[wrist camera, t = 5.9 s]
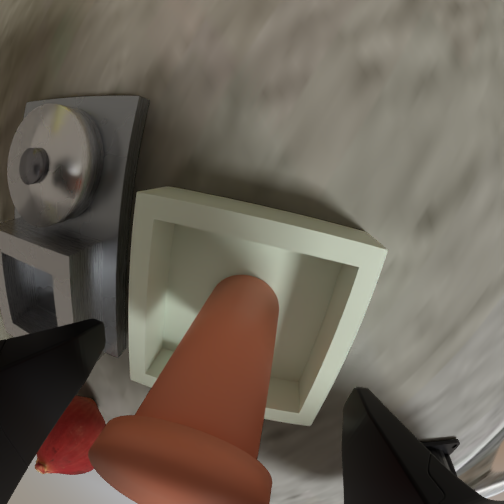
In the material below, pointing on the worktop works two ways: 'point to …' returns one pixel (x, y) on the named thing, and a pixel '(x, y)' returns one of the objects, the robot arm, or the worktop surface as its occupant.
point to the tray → (257, 265)
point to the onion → (71, 439)
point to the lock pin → (202, 409)
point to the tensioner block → (70, 214)
